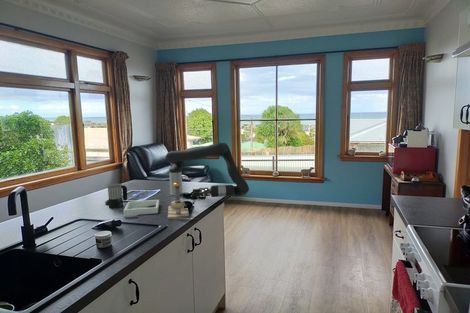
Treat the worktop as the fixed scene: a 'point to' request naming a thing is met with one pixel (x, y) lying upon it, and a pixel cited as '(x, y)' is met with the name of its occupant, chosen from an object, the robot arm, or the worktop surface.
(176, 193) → the lock pin
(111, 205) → the milk frother
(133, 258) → the worktop surface
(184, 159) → the robot arm
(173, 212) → the pulley board
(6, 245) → the worktop surface
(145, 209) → the tray
